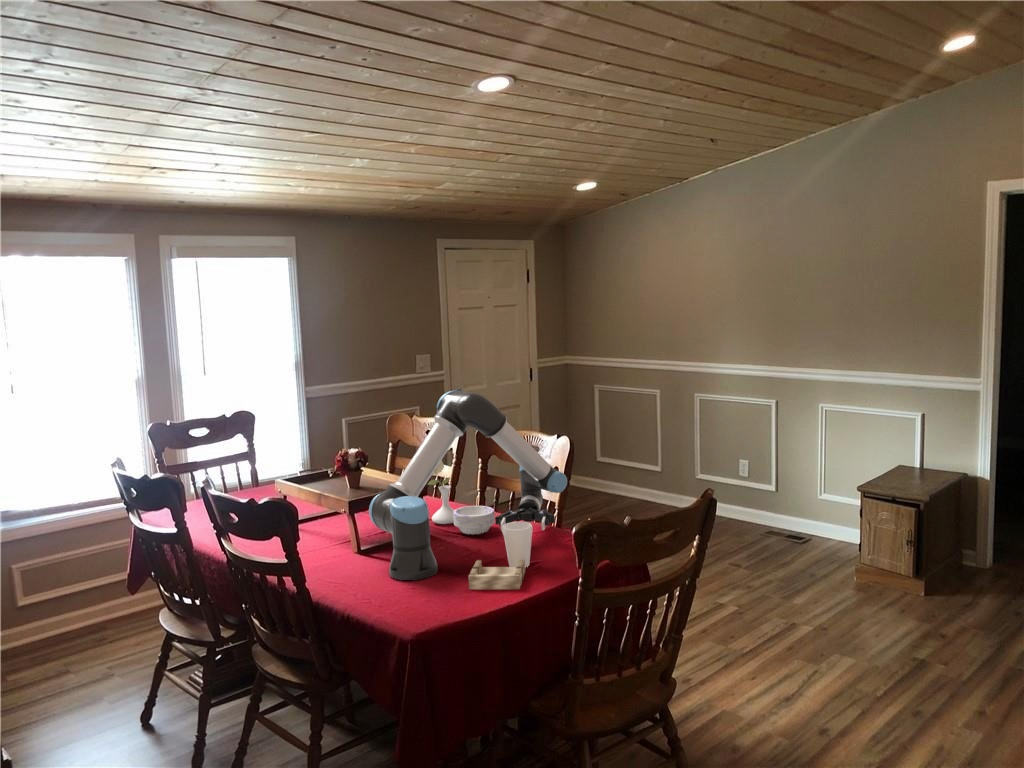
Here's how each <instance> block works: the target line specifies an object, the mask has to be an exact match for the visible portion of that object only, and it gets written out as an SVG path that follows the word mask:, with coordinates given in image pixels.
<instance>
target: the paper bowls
mask: <svg viewBox="0 0 1024 768" xmlns="http://www.w3.org/2000/svg"><path fill="white" fill-rule="evenodd" d="M495 515H496V512H495V509H494V508H493V507H491V506H487V505H467V506H461V507H458V508H456V509H454V512H453V516H454V518H453V519H454V523H453V525H454V526H455V527H456V528H458V529H459V531H460V532H462V534H465V535H470V534H471V535H472V536H473V535H475V534H476V535H482V534H485V533H487V532H488V531H489V530H490V528H491V527H492V526H493V525H494V524H496V523H495V517H496V516H495ZM484 532H485V533H484ZM481 533H482V534H481Z"/></svg>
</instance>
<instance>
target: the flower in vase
mask: <svg viewBox="0 0 1024 768" xmlns="http://www.w3.org/2000/svg"><path fill="white" fill-rule="evenodd" d="M444 468H445V465H444V462H443V459H442V460H441V461H440V463H439V465H438V466H437V468H436V469H435V471H434V472H433V474H432V475H431V476H436V479H431V480H430V481H429V482H427V483H426V485H427V486H428V485H429V486H430V485H431V486H435V485H436V484H438V483H439V485H441V486H438V490H439V491H440V494H441V498H442V505H441V507H440V508H439V509H438V510H437V511H436V512H435V513H434V514H433V515H432V516H431V520H432V522H434V523H435V524H439V525H447V524H454V519H453V518H454V516H453V512H454V510H455V509H454V508H453V507H451V505H450V503H449V495H450V490H451V488H452V486H451V485H445V484H447V483H448V482H449V481H450V480H451V477H450V476H449V477H447V478H445V479H443V480H442V481H441V482H440V480H439V478H438V475H439V473H442V472H443V470H444Z"/></svg>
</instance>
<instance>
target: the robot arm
mask: <svg viewBox="0 0 1024 768" xmlns="http://www.w3.org/2000/svg"><path fill="white" fill-rule="evenodd" d="M433 420H434V425H433V426H432V428H431V429H430V430H429V432H428V434H427V435H426V436H425V439H424V440H423V441H422V443H421V444H420V446H419V447H418V449H417V451H416V452H415V453H414V455H413V457H412V458H411V460H410V461H409V463H407V465H406V467H405V468H404V470H403V472H402V473H401V474H400V476H399V478H398V479H397V481H396V482H393V483H390V484H388V486H387V487H386V489H385V490H384V492H381V493H378V494H377V495H375V496H374V497H373V499H372V500H371V501H370V504H369V508H368V515H369V519H370V521H371V522H372V524H373V525H375V526H376V527H377V528H378V529H380V530H381V531H385V532H387V533H389V534H391V536H392V547H393V548H392V549H393V550H392V556H391V560H390V563H389V568H388V570H389V571H388V572H389V573H388V574H389V577H390V576H391V577H392V578H391V577H390V578H391V579H393V578H395V579H394V580H396V579H399V580H398V581H402V580H413V581H420V580H424V579H423V578H425V579H428V578H431V577H433V576H434V575H436V574H437V573H438V570H439V568H438V562H437V560H436V557H435V555H434V553H433V550H432V547H431V535H430V534H431V532H430V517H429V516H430V511H429V508H428V503H427V501H426V500H425V499H424V498H422V497H419V495H420V494H421V492H422V491H423V489H424V487H425V486H426V485H427V484H428V481H429V480H430V479H431V477H432V476H433V475H432V474H433V472H434V471H435V469H436V468H437V466H438V465H439V463H440V461H441V460H442V461H443V458H444V456H446V454H447V452H448V451H449V449H450V448H451V446H452V445H453V443H454V442H455V439H457V438H458V437H459V438H460V437H463V436H464V434H465V433H466V431H467V430H468V428H472V429H474V430H476V431H478V432H480V433H481V434H482V435H483V436H484V437H485V438H488V439H489V438H491V439H492V440H493V441H494V442H495V443H496V444H497V445H498V446H499V447H500V448H501V449H502V450H503V451H504V452H506V454H508V456H509V457H510V458H511V459H513V460H514V462H516V463H517V465H519V471H518V472H519V479H520V480H519V481H520V497H521V498H520V502H519V505H518V508H517V509H516V510H515V511H513V510H512V509H508V510H507V511H505V512H503V513H501V514H498V515H497V516H495V523H494V524H495V525H498V527H500V532H503V529H502V527H503V525H504V524H507V523H511V522H528V523H531V522H536V521H538V522H540V524H541V531H545V529H546V526H549V524H550V523H551V524H555V523H556V518H555V515H554V514H553V513H551V512H550V511H548V509H547V508H544V509H543V510H541V507H542V506H543V502H544V497H543V496H544V495H543V493H542V491H547V492H550V493H554V494H560V493H562V492H563V491H564V490H565V489H566V488H567V485H568V478H567V476H566V474H564V472H561V471H560V470H556V469H555V468H554V467H553V466H552V465H551V464H549V462H548V461H546V460H545V458H544V457H542V456H541V454H540V453H539V452H538V451H537V450H535V448H533V446H532V445H531V444H530V443H529V442H528V441H527V440H526V439H525V438H524V437H523V436H522V435H521V434H520V433H519V432H518V431H517V430H516V429H515V428H514V427H513V426H512V425H511V424H510V423H509V422H508V421H507V420H508V417H507V415H505V414H504V413H503V411H501V410H500V409H499V407H498V406H496V404H494V403H493V402H492V401H491V400H489V398H487V397H486V396H484V395H483V394H480V393H478V392H471V391H464V390H459V389H455V390H450V391H447V392H445V393H444V394H443V395H442V396H440V398H439V400H438V402H437V404H436V414H435V415H434V417H433ZM427 577H428V578H427ZM419 579H420V580H419Z"/></svg>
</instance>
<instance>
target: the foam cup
mask: <svg viewBox="0 0 1024 768" xmlns="http://www.w3.org/2000/svg"><path fill="white" fill-rule="evenodd" d="M502 529H503V531H502V535H503V539H504V543H505V550H506V555H507V562H508V565H509V566H508V567H517V566H518V563H519V560H524V562H525V569H527V568H529V567H528V566H530V563H531V561H530V560H531V550H532V538H533V537H532V535H533V533H534V531H533V524H532V523H531V522H525V521H514V522H511V523H507V524H504V525H503V527H502ZM526 567H527V568H526Z"/></svg>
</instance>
